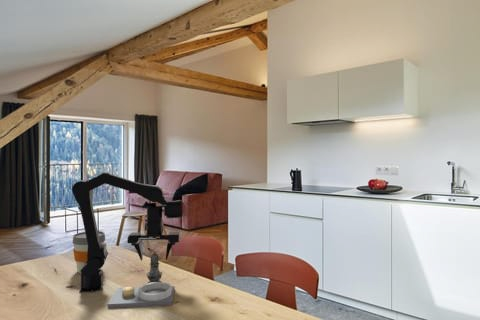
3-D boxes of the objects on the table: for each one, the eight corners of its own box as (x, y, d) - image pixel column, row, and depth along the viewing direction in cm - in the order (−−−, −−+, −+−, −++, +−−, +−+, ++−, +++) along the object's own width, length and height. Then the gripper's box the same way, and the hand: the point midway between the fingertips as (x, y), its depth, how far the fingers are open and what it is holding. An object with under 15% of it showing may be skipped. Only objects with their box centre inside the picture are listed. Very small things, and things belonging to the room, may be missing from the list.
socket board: (107, 307, 108) (107, 297, 108) (117, 291, 121) (117, 282, 121) (171, 305, 110) (171, 295, 110) (174, 289, 123) (174, 280, 123)
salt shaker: (158, 286, 125) (158, 254, 125) (143, 285, 126) (143, 253, 126) (164, 280, 131) (165, 249, 131) (150, 279, 132) (150, 248, 132)
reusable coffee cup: (111, 268, 144) (111, 233, 144) (84, 277, 133) (84, 239, 133) (93, 263, 151) (93, 229, 150) (66, 271, 140) (66, 235, 140)
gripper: (180, 214, 137) (180, 253, 137) (133, 215, 135) (133, 254, 135) (179, 220, 126) (178, 262, 126) (127, 220, 124) (127, 263, 124)
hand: (154, 260), depth 128 cm, fingers open, 9 cm apart
